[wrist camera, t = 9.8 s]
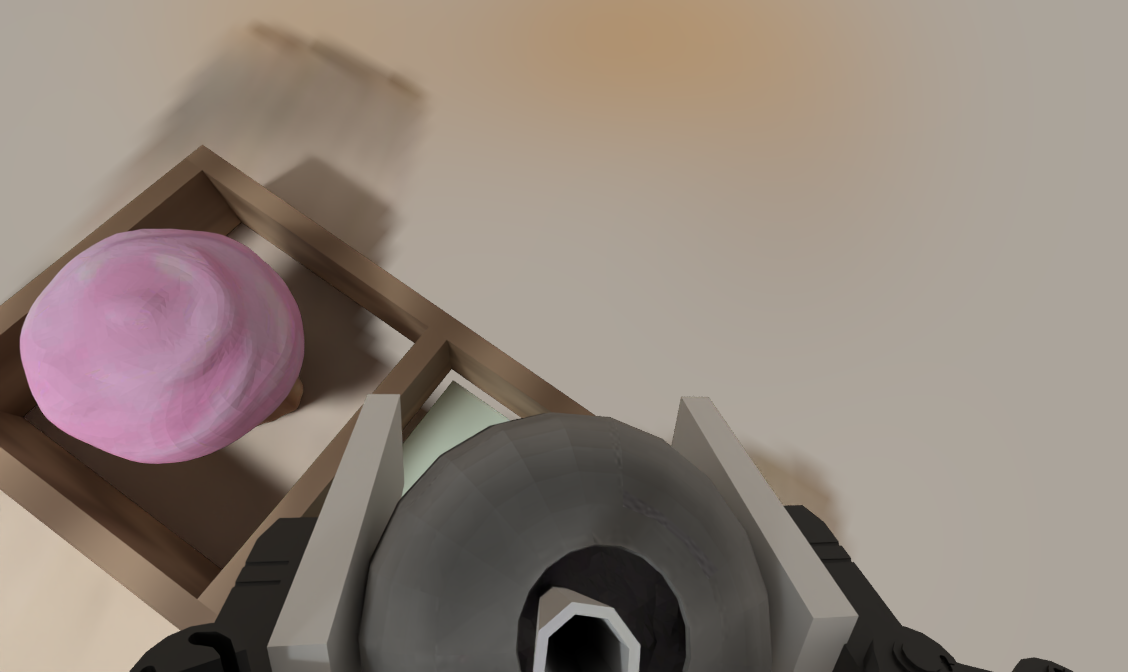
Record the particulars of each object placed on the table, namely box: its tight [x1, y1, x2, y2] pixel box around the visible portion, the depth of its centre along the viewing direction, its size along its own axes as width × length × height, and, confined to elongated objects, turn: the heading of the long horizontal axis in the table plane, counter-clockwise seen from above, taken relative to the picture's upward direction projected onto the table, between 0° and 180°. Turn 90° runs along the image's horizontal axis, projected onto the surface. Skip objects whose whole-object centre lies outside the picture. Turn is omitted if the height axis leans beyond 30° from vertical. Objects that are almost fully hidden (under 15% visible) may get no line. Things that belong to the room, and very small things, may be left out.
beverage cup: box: [358, 412, 773, 672], centre depth 12 cm, size 7×7×20 cm
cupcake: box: [20, 229, 305, 464], centre depth 22 cm, size 9×9×10 cm
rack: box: [0, 145, 595, 630], centre depth 24 cm, size 29×15×4 cm, turn 57°
